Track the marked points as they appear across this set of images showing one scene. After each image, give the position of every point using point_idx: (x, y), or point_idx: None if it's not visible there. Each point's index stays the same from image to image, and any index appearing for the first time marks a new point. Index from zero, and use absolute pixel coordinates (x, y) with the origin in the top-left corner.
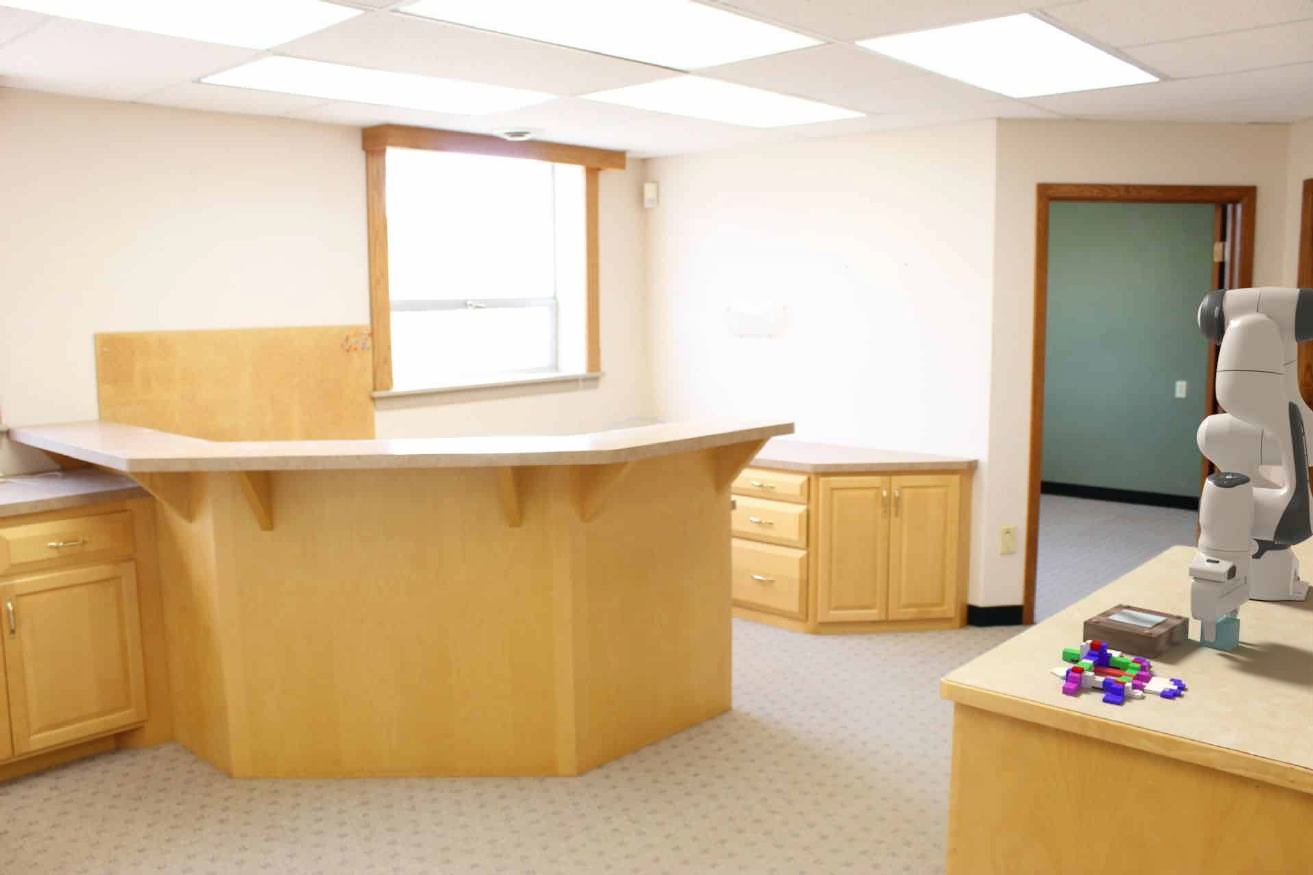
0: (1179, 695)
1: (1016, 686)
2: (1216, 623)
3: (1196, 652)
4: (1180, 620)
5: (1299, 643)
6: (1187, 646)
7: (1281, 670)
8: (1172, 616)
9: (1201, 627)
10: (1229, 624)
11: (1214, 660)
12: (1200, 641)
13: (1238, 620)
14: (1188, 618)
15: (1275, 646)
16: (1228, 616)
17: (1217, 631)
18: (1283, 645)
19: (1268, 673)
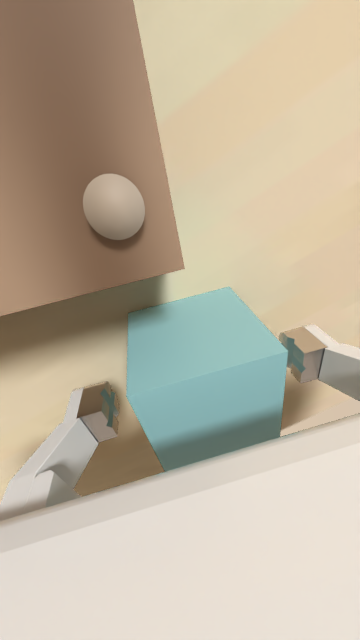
0: None
1: None
2: (80, 496)
3: (39, 357)
4: (62, 279)
5: (340, 400)
6: (62, 303)
7: (133, 476)
8: (91, 164)
9: (128, 362)
10: (170, 467)
11: (36, 415)
12: (129, 320)
13: (258, 443)
14: (170, 270)
15: (285, 397)
16: (334, 365)
17: (116, 434)
18: (304, 398)
19: (90, 482)
